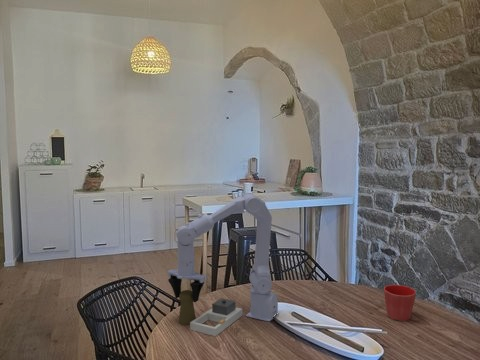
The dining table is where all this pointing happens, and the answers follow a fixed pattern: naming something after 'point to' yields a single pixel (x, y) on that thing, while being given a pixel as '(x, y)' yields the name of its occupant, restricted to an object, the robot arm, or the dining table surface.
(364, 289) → the dining table surface
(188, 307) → the brown pear
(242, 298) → the dining table surface
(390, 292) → the flower pot
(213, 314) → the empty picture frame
